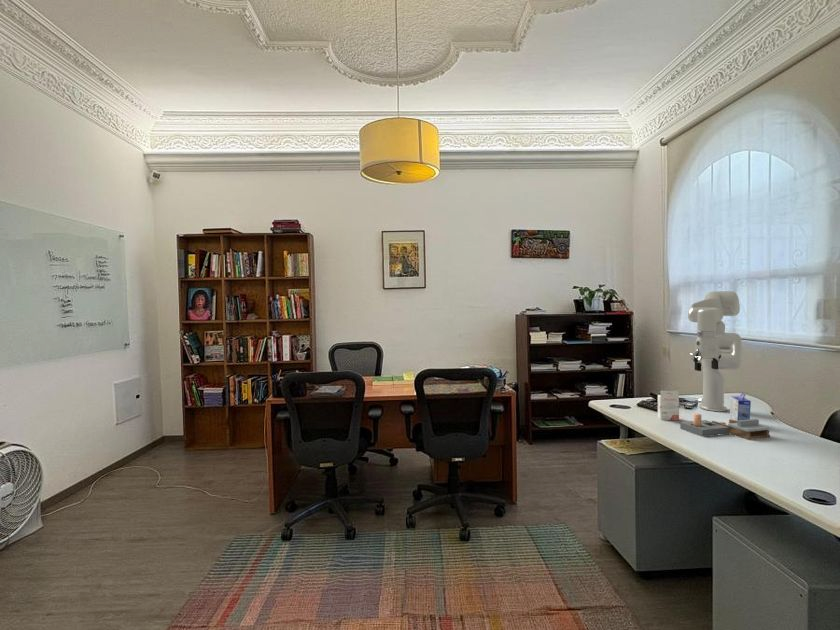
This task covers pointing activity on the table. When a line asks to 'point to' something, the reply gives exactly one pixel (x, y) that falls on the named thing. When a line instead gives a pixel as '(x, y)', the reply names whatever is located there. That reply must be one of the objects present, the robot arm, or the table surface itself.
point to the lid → (748, 425)
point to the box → (743, 433)
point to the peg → (697, 420)
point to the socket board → (704, 428)
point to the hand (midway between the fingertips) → (706, 369)
